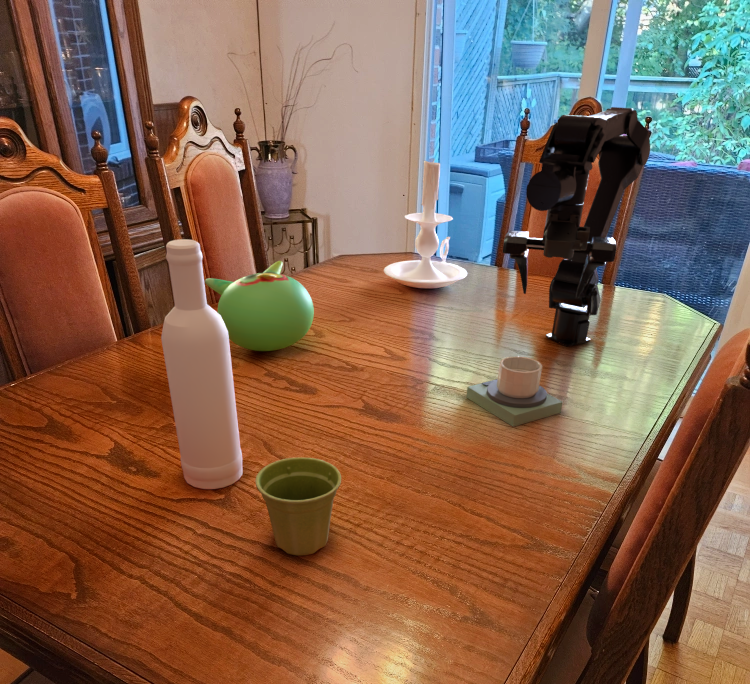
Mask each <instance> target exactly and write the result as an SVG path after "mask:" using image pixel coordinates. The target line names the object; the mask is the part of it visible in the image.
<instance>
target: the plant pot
mask: <svg viewBox="0 0 750 684" xmlns="http://www.w3.org/2000/svg"><path fill="white" fill-rule="evenodd" d="M341 483H342V474H341V472H340V470H339V469H338V468H337V466H335V465H333V464H332V463H331V462H328V461H325V460H323V459H319V458H314V457H303V456H302V457H299V456H297V457H288V458H287V457H286V458H283V459H280V460H276V461H273V462H271V463H269V464H267V465H265V466H263V468H261V470H259V471H258V473H256V476H255V486H256V489H257V490H258V492H259V493H260V494H261V497H262V499H263V501H264V502H265V505H266V509H267V513H268V517H269V520H270V525H271V528H272V533H273V537H274V541H275V544H276V546H277V548H278V549H281V550H283V551H284V552H285V553H286V554H288V555H291V556H292V555H293V556H308V555H313V554H315V553H316V552H317V551H319V550H320V549H322V548H324V547H326V545H327V544H328V541H329V532H330V525H331V519H332V513H333V507H334V499H335V497H336V494H337V491H338V490H339V488H340V487H341Z"/></svg>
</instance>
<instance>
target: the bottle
mask: <svg viewBox="0 0 750 684" xmlns="http://www.w3.org/2000/svg"><path fill="white" fill-rule="evenodd" d="M165 247H166V255H165V259H166V261H167V263H168V268H169V276H170V281H171V282H170V283H171V289H172V295H173V296H172V297H173V302H174V306H173V307H172V308H171V310H170V311H169V312H168V314H166V315H165V317H164V321H163V325H162V330H161V337H160V339H161V345H162V351H163V357H164V364H165V369H166V376H167V381H168V388H169V394H170V400H171V406H172V412H173V418H174V424H175V430H176V436H177V441H178V446H179V447H178V449H179V455H180V466H181V469H182V473H183V478H184V480H185V482H186V483H187V484H188V485H190V486H192V487H194V488H198V489H201V490H218V489H223V488H226V487H228V486H231V485H233V484H234V483H236V482H237V481H239V480H240V479H241V477H242V476H243V474H244V473H243V471H244V470H243V469H244V468H243V453H242V452H243V451H242V449H241V440H240V432H239V422H238V421H239V420H238V413H237V412H238V411H237V404H236V403H237V402H236V394H235V384H234V383H235V382H234V373H233V364H232V356H231V355H232V354H231V348H230V347H231V346H230V339H229V336H228V330H227V328H226V326H225V323H224V321H223V319H222V317H221V315H220V314H219V313H218V311H216V310H215V309H214V308H213V307H211V306H210V305H209V304H208V301H207V294H206V285H205V284H206V283H205V277H204V269H203V268H204V267H203V259H204V258H203V253H202V250H201V244H200V243H199V242H198V241H197V240H194V239H190V238H189V239H188V238H187V239H186V238H185V239H184V238H182V239H173V240H170V241H168V242H167V243H166V245H165Z"/></svg>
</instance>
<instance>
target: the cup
mask: <svg viewBox="0 0 750 684" xmlns="http://www.w3.org/2000/svg"><path fill="white" fill-rule="evenodd" d="M542 371H543V364H542V363H541V361H538V360H537V359H534V358H531V357H527V356H519V355H516V356H508V357H504V358H502V359H501V360H500V361H499V365H498V373H497V379H498V380H497V388H498V389H499V391H500V392H501V393H502V394H503V395H506V396H508V397H512V398H529V397H532V396H534V395H535V394H536V393H537V392H538V389H539V385H540V384H541V377H542Z"/></svg>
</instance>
